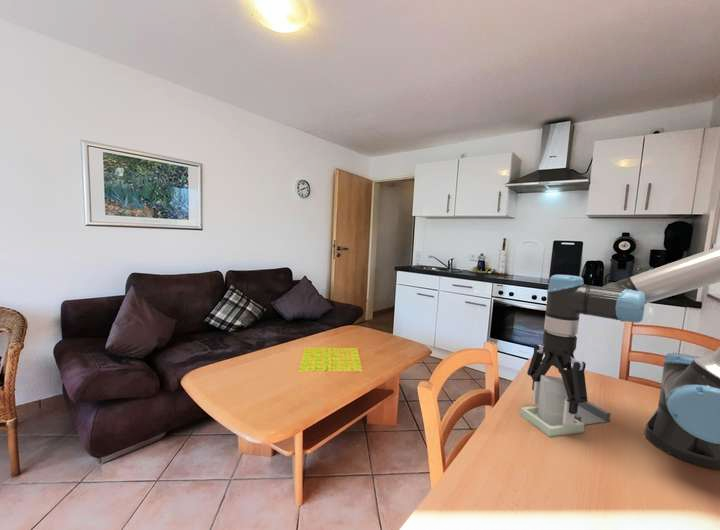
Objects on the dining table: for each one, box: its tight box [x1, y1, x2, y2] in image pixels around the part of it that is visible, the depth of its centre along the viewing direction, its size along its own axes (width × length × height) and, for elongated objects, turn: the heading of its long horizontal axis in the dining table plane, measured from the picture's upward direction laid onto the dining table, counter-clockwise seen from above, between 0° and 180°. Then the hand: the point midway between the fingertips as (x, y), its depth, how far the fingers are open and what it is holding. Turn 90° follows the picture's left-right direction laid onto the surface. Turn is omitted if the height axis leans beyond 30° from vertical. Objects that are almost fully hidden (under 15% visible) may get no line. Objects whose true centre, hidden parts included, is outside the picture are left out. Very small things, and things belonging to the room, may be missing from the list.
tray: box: [519, 405, 585, 438], centre depth 84 cm, size 10×11×2 cm
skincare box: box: [537, 374, 568, 426], centre depth 84 cm, size 6×4×12 cm
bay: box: [573, 395, 612, 426], centre depth 90 cm, size 11×12×2 cm
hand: (551, 412), depth 84 cm, fingers open, 9 cm apart
